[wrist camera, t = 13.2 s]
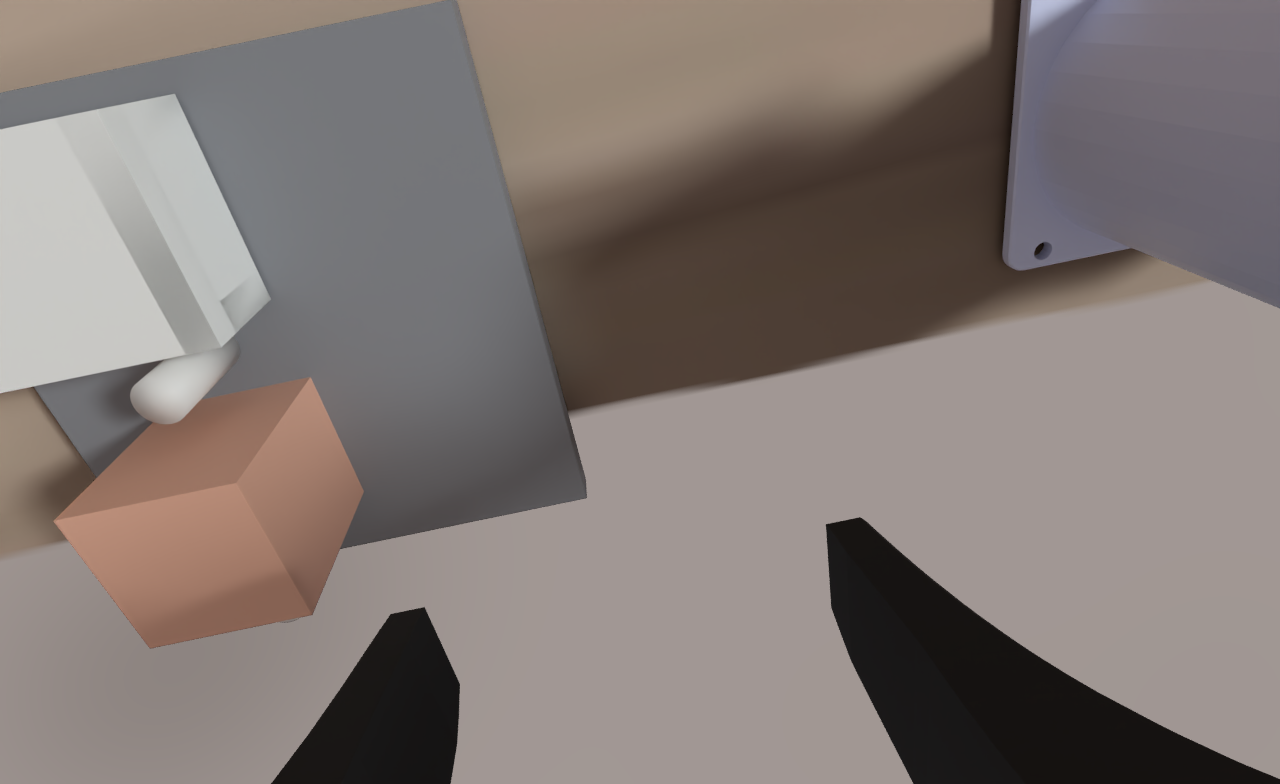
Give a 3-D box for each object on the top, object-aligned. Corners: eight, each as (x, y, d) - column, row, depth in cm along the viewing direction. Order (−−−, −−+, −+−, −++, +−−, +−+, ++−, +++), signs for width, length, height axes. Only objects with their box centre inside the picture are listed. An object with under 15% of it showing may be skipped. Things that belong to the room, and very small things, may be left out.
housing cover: (174, 93, 16) (96, 109, 13) (270, 299, 18) (221, 347, 15) (-87, 148, 16) (-218, 174, 13) (43, 346, 18) (-45, 402, 15)
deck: (456, 0, 16) (427, -4, 13) (585, 480, 23) (589, 562, 20) (-110, 117, 16) (-294, 146, 13) (185, 562, 23) (116, 660, 20)
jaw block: (310, 376, 19) (236, 482, 15) (364, 491, 21) (312, 614, 17) (169, 406, 19) (53, 521, 15) (235, 518, 21) (149, 648, 17)
